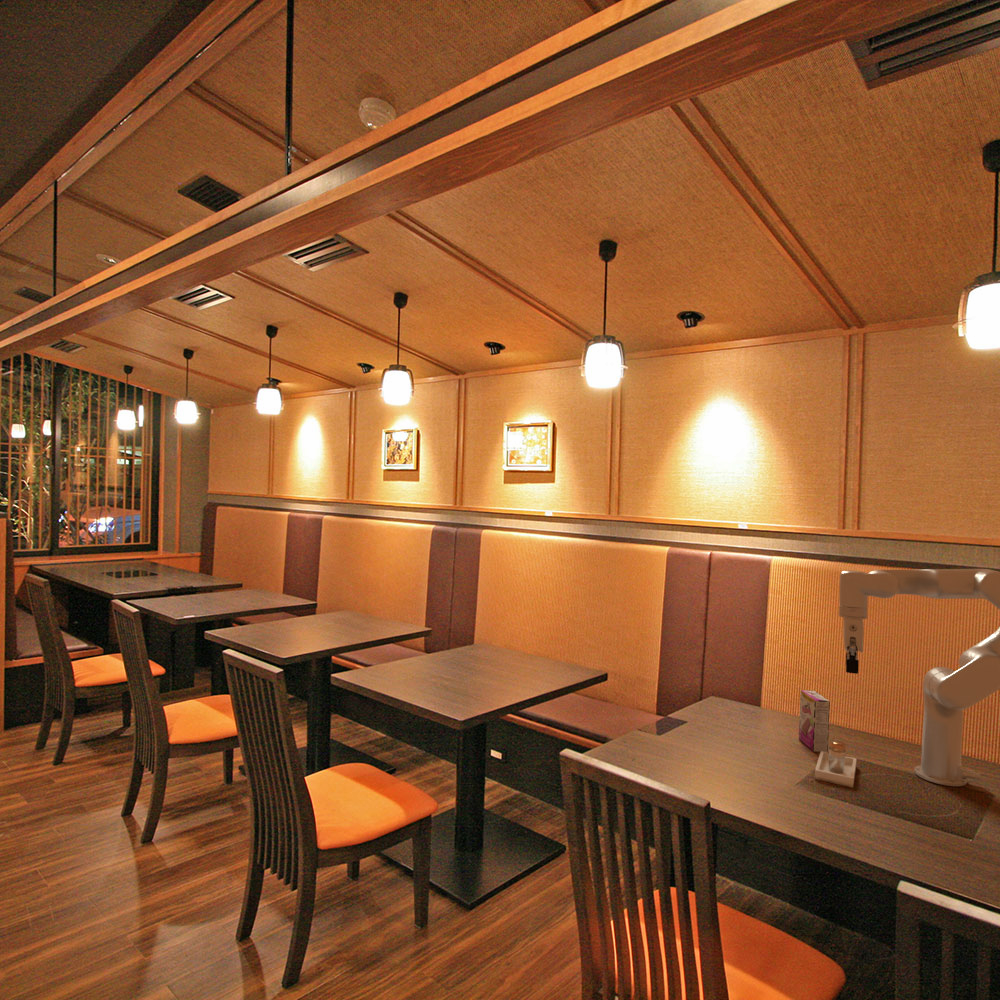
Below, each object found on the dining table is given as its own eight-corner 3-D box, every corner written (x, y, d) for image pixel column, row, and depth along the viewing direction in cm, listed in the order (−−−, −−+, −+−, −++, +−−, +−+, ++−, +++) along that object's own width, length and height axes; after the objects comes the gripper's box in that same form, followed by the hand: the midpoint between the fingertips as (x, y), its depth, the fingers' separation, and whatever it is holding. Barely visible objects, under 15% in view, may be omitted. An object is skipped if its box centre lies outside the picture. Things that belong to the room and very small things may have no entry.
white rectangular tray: (856, 766, 200) (856, 758, 200) (853, 787, 185) (853, 778, 185) (820, 759, 205) (820, 751, 205) (814, 778, 190) (815, 769, 190)
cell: (844, 770, 196) (846, 742, 196) (843, 774, 192) (845, 746, 192) (828, 766, 198) (830, 739, 198) (827, 771, 194) (829, 743, 194)
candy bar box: (797, 739, 222) (799, 689, 222) (812, 740, 222) (815, 690, 222) (812, 752, 211) (815, 699, 211) (828, 753, 211) (831, 700, 211)
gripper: (868, 617, 193) (867, 677, 193) (866, 609, 209) (865, 665, 209) (838, 615, 197) (837, 674, 196) (839, 607, 212) (838, 662, 212)
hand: (851, 669), depth 203 cm, fingers open, 9 cm apart
